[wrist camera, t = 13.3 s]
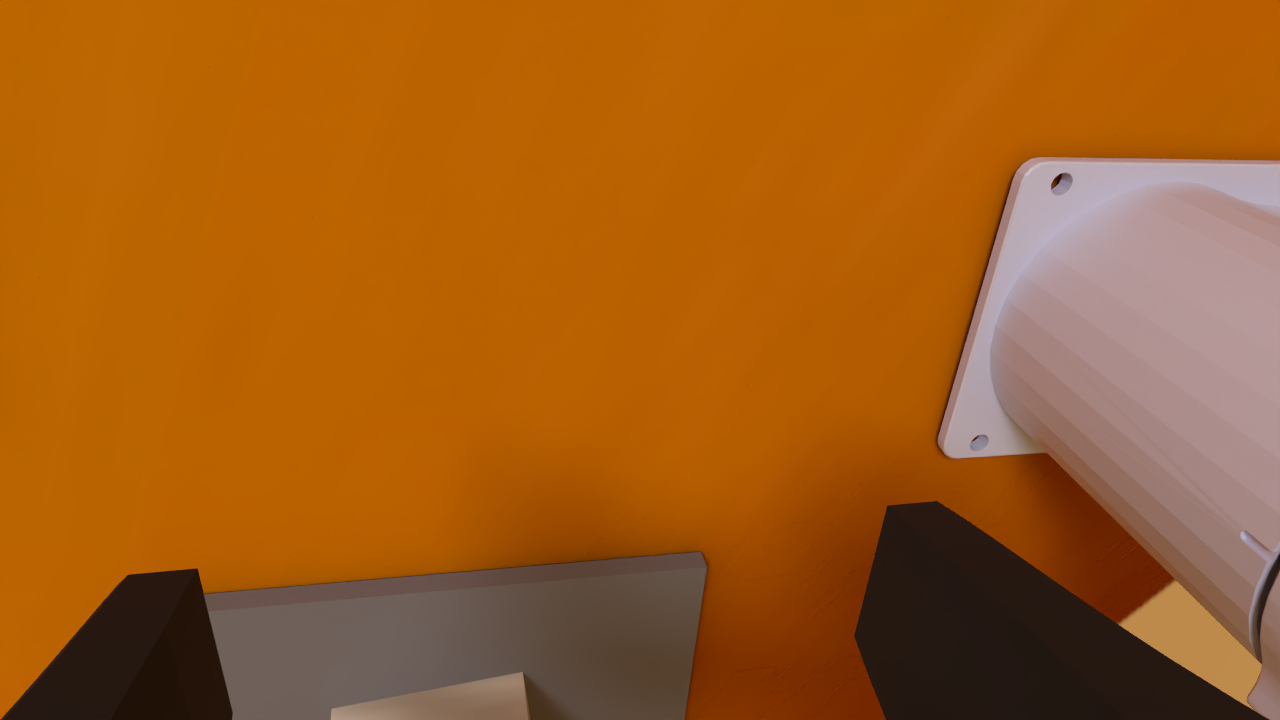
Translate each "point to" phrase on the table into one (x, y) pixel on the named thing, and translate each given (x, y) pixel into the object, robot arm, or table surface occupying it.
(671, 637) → the charcoal mat
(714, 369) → the table surface
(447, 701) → the whitewashed cube
